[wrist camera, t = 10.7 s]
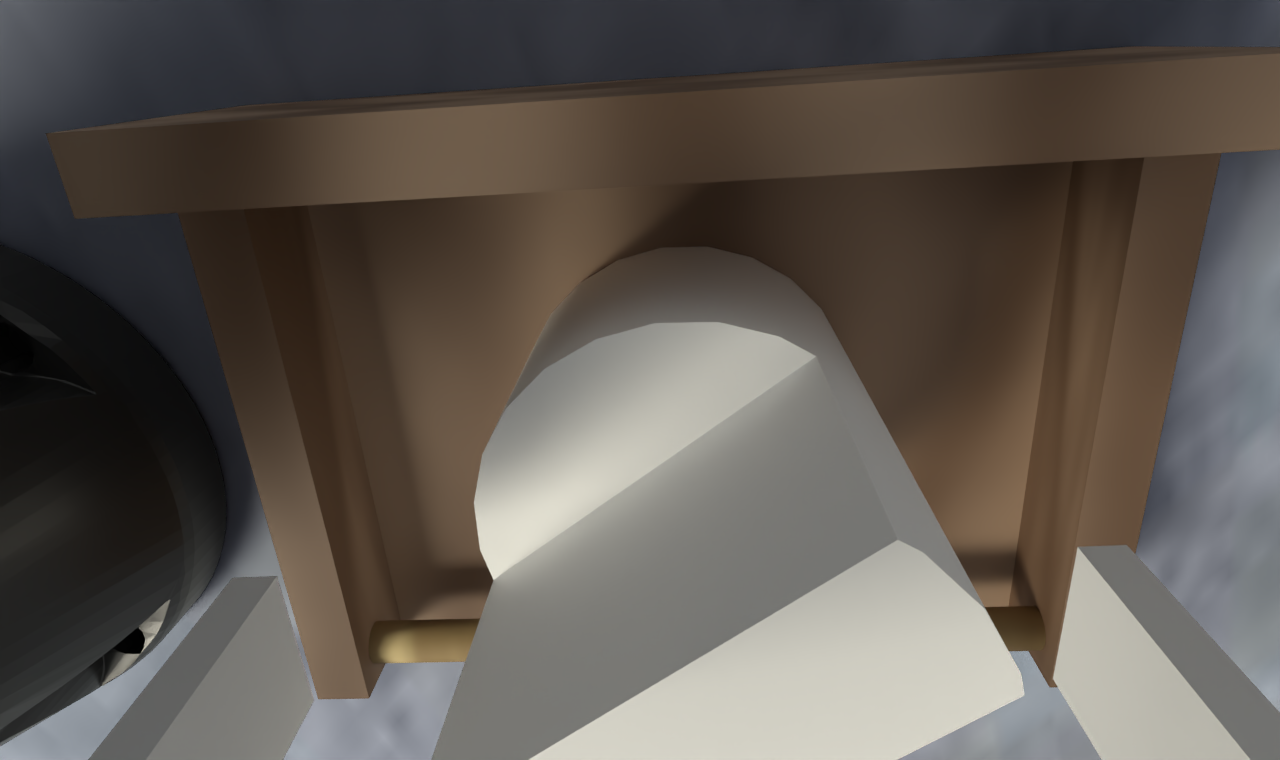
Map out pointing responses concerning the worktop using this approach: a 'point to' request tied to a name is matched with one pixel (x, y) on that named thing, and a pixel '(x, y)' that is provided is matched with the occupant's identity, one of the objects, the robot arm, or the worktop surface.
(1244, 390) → the worktop surface
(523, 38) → the worktop surface
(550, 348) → the cylinder with rectangular tab
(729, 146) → the caddy
